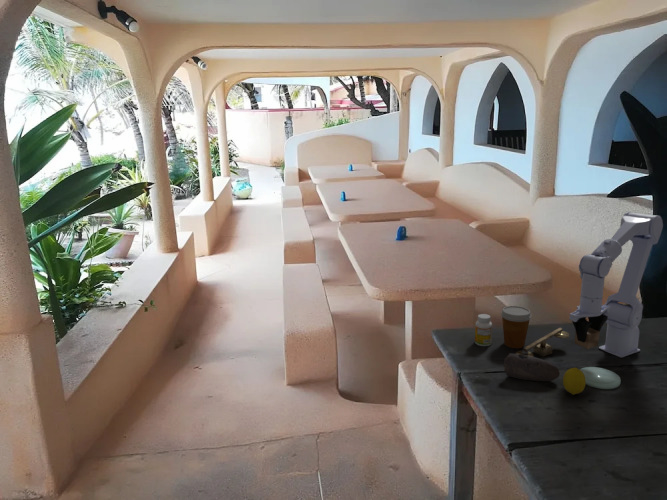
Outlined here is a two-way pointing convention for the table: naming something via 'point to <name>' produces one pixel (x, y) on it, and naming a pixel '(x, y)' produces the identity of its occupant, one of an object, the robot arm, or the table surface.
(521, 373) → the perforated stone tool
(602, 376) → the dish
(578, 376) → the lemon
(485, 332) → the supplement bottle
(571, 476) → the table surface
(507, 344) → the disposable coffee cup
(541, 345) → the balance
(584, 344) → the block
